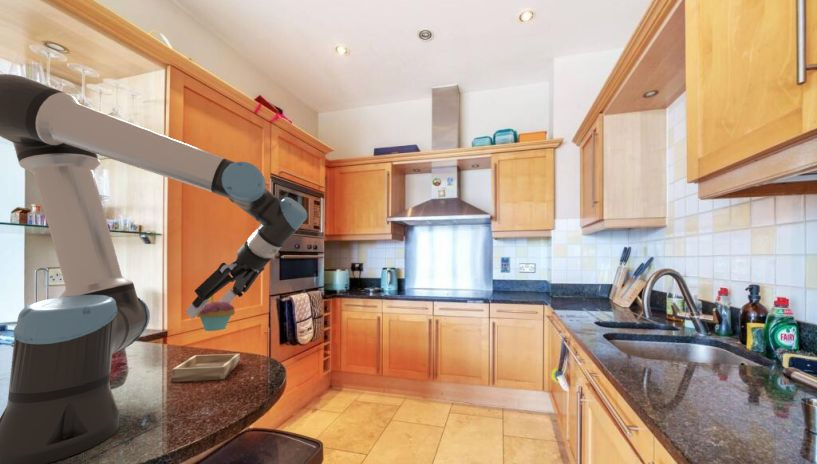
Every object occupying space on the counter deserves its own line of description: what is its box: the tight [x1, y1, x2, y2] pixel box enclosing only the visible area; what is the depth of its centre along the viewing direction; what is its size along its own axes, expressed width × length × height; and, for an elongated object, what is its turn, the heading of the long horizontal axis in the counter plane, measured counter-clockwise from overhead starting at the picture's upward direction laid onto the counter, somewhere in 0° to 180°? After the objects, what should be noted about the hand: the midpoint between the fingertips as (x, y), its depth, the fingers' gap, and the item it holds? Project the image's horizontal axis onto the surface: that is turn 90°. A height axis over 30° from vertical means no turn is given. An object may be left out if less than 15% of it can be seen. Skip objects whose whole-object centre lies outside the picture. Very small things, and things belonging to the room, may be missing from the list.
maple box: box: [170, 353, 241, 383], centre depth 86 cm, size 12×12×3 cm
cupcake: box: [196, 295, 236, 332], centre depth 84 cm, size 9×8×12 cm
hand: (204, 311), depth 85 cm, fingers closed on cupcake, 8 cm apart
